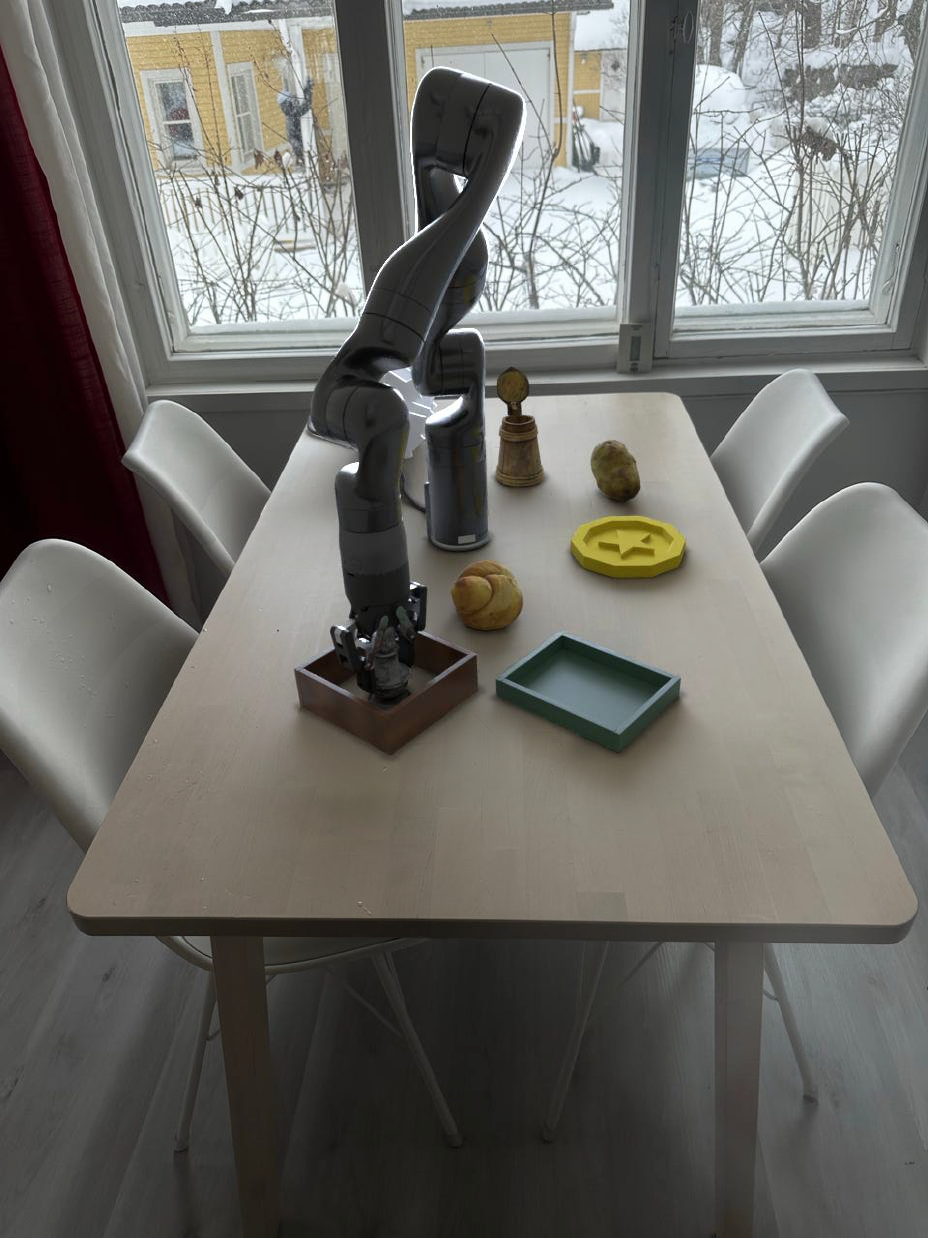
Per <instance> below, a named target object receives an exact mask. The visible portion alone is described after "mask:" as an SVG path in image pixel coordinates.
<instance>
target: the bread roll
mask: <svg viewBox="0 0 928 1238" xmlns="http://www.w3.org/2000/svg"><path fill="white" fill-rule="evenodd" d="M450 596H451V600H452V603H453V605H454V607H455V611H456V614H457V616H458V618H459V620H461V622H462V623H463V624H464V625H465V626H468V627H470V628H473V629H475V630H478V631H479V630H480V631H482V630H483V631H491V630H499V629H503V628H505V627H508V626H510V625H511V624H513V623H514V621H516V619H518V618H519V616H520V615H521V613H522V610H523V608H524V607H523V606H524V597H523V594H522V590H521V589H520V587H519V585H518V582H517V580H516V577H515V575H514V574H513V573H512V571H511V570H510V569H509V568H508V567H507V566H504V565H502V563H499V562H498V561H496V560H491V559H490V560H481V561H477V562H473V563H470V564H468V565H467V566H465V568H464V569H463V570H461V572H460V573H459V575H458V576H457V578H456V580H455V582H454V583H453V584H452V586H451V589H450Z"/></svg>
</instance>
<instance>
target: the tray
mask: <svg viewBox="0 0 928 1238" xmlns="http://www.w3.org/2000/svg"><path fill="white" fill-rule="evenodd" d="M681 682H682V677H680V676H678V675H675V674H673V673H671V672H667V671H665V670H662V669H660V668H657V667H655V666H652V665H649V664H647V663H645V662H642V661H639V660H637V659H635V658H633V657H629V656H627V655H625V654H621V653H619V652H616V651H614V650H611V649H609V648H606V647H604V646H601V645H598V644H596V643H593V642H591V641H588V640H586V639H583V638H581V637H578V636H575V635H573V634H571V633H568V632H565V631H562V630H559V631H558V632H556V633H555V634H554V635H553V636H551V637H550V638H549V639H547V640H546V641H545V642H544V643H542V644H541V645H539V646H538V647H536V648H535V649H533V651H531V652H530V653H529V654H527V655H526V656H524V657H523V658H522V659H520V660H519V661H518V662H516V663H515V664H514V665H513V666H511V667H510V668H508V669H507V670H506V671H504V672H503V673H501V674H500V675H499V676H497V677H496V678H495V697H497V698H499V699H501V700H503V701H506V702H508V703H510V704H512V705H514V706H517V707H519V708H520V709H523V710H525V711H527V712H530V713H531V714H534V715H536V716H538V717H540V718H543V719H545V720H546V721H549V722H550V723H553V724H555V725H558V726H560V727H562V728H564V729H566V730H569V731H570V732H573V733H575V734H577V735H580V736H581V737H583V738H586V739H588V740H590V741H591V742H594V743H597V744H599V745H601V746H603V747H605V748H607V749H610V750H612V751H614V752H616V753H620V752H622V750H623V749H624V748H626V746H627V745H629V744H630V743H631V742H632V741H633V740H634V739H635V738H636V737H637V736H638V735H639V734H640V733H641V732H643V730H644V729H646V728H647V726H648V725H650V724H651V723H652V722H653V721H654V720H655V719H656V718H657V717H658V716H659V715H660V714H661V713H663V711H664V710H665V709H666V708H668V706H669V705H670V704H671V703H672V702H674V701H675V700H676V699H677V698H678V697H679V696H680V691H681Z"/></svg>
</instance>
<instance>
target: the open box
mask: <svg viewBox="0 0 928 1238" xmlns="http://www.w3.org/2000/svg"><path fill="white" fill-rule="evenodd" d="M364 638H365V639H366V640H368V641H370V642H371V638H369V637H367V636H365V635H364ZM396 638H398V636H396V635H395V639H396ZM414 649H415V660H414V666H415V667H417V668H420V669H421V670H424V671H426V672H427V673H429V674H431V675H434V676H435V677H434V678H433V679H431V680H430V681H429V682H427V683H426V684H424V685H422V686H421V687H420V688H418V689H417V690H416V691H414V692H413V693H410V694H411V695H410V696H408V697H407V698H406V699H404V700H403V701H401V702H400V703H398V704H397V705H396V706H394V707H393V708H391V709H390V710H388V711H384V710H382V709H380V708H378V707H376V706H374V705H372V704H370V703H369V701H368V700H364V699H362V698H361V697H359V696H357V695H355V694H353V693H351V692H349V691H347V690H346V689H343V688H342V687H340V685H342V684H344V683H345V682H346V681H348V680H350V679H352V678H353V677H355V676H356V673H354V672H352V671H351V670H349V669H347V668H344V667H342V666H340V664H339V661H338V658H337V654H336V651H335V648H334V644H333V645H332V646H330V647H328V648H326V649H324V650H322V651H321V652H320V653H318V654H316V655H314V656H313V657H311V658H309V659H308V660H306V661H305V662H303V663H301V664H300V665H298V666H296V667H295V668H293V672H294V673H293V674H294V678H295V683H296V690H297V695H298V696H297V697H298V702H299V706H300V707H302V708H303V709H305V710H307V711H309V712H311V713H313V714H315V715H317V716H318V717H320V718H322V719H324V720H325V721H327V722H329V723H331V724H333V725H335V726H336V727H338V728H340V729H341V730H344V731H345V732H347V733H349V734H351V735H353V736H354V737H356V738H358V739H359V740H361V741H363V742H365V743H366V744H369V745H371V746H372V747H374V748H376V749H378V750H379V751H381V752H383V753H385V754H387V755H388V756H390V757H391V756H393V755H394V754H395V753H397V752H398V751H400V750H401V749H402V748H403V747H405V746H406V745H408V744H409V743H410V742H412V741H413V740H414V739H416V738H417V737H418V736H420V735H422V733H424V732H425V731H426V730H428V729H429V728H431V727H432V726H433V725H434V724H436V723H438V722H439V721H440V720H441V719H443V718H444V717H445V716H447V715H448V714H449V713H450V712H452V711H453V710H455V709H456V708H457V707H459V706H461V704H463V703H464V702H465V701H467V700H468V699H469V698H471V697H472V696H473V695H475V694H476V693H477V692H479V673H478V653H476V652H473V651H470V650H468V649H466V648H463V647H461V646H460V645H457V644H455V643H452V642H450V641H447V640H445V639H443V638H441V637H439V636H437V635H434V634H432V633H429V632H427V631H425V630H424V631H422V632H421V631H419V632H418V633H417V634H416V639H415V641H414ZM365 654H366V651H365V649H363V653H362V657H364V658H365Z"/></svg>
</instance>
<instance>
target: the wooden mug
mask: <svg viewBox="0 0 928 1238" xmlns="http://www.w3.org/2000/svg"><path fill="white" fill-rule="evenodd" d="M496 394H497V397H498V399H499V400H500V401H502V402H503V403H504V404H505V405H506V409H507V415H505V416H503V417H502V419H501V424H500V426H499V428H498V436H499V448H498V458H497V464H496V466H495V471H494V472H495V473H494V476H495V478H496V480H497V482H499V483H501V484H502V485H506V486H508V487H528V486H534V485H537V484H539V483H541V482H542V481H544V480H545V470H544V466H543V464H542V458H541V453H540V445H539V437H538V435H539V429H538V424H537V423H536V418H535V416H534V415H529V414H523V409H522V403H523V402H524V401H525V400H526V399H527V398H528V396H529V395H530V382H529V379H528V377H527V376H526V374H525V373H524V372H522V371H521V370H519V369H517V368H516V367H514V366H510V367H508V368H507V369H505V370H504V371H503V372H501V374H500V375H499V376H498V377H497V379H496Z"/></svg>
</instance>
